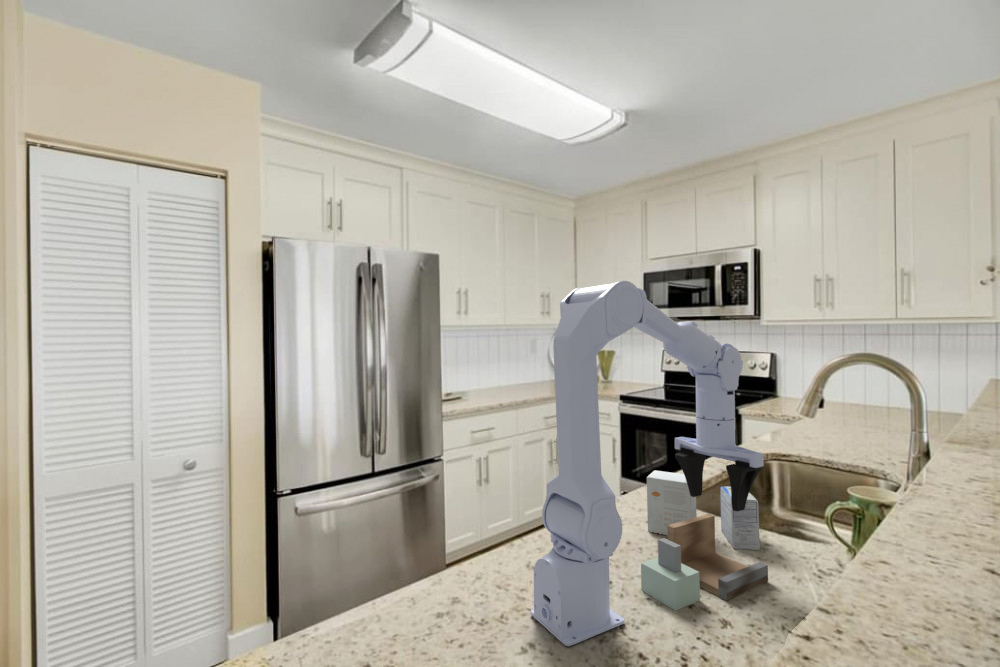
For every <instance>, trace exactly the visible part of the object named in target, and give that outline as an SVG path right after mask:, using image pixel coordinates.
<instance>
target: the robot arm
mask: <svg viewBox="0 0 1000 667" xmlns="http://www.w3.org/2000/svg"><path fill="white" fill-rule="evenodd" d="M647 298H648V296H647V294H646V290H644V289H642V288H639V287H637V286H636V285H635V284H634V283H633V282H630V281H628V280H620V281H616V282H614V283H608V284H600V285H596V286H594V285H593V286H588V287H581V286H580V287H576V288H575V289H573V290H571V292H569V293H568V294H567V295H566V296H565V297H564V298H562V300H561V301H560V303H559V309H560V314H559V315H560V319H559V322H558V325H557V329H556V331H555V334H554V338H553V344H552V346H553V347H552V348H553V366H554V367H553V368H554V373H553V374H554V388H555V389H554V390H555V391H554V395H555V414H556V416H555V417H556V418H555V419H556V437H557V438H556V440H557V461H558V474H557V475H556V476H554V477H553V478H552V479H551V480H549V481H548V482H547V483H546V496H545V501H544V503H543V506H542V511H541V519H542V524H543V526H544V527H545V529H546V530H547V531H548V532H549V533H550V542H551V543H552V548H551V550H550V551H549V552H548V553H547V554H546V555H544V556H543V557H540V558H539V559H537V561H536V562H535V564H534V568H533V609H531V610H530V615H531V616H532V617H533V618H534V619H535V620H536V621H537V622H539V623H540V624H541V625H542V626H543V627H544V628H545V629H546V630H547V631H549V632H550V633H551V634H552V636H554V637H555V638H556V639H557V640H558V641H559V642H561V643H562V644H563V645H564V646H566V647H571V646H573V645H576V644H578V643H581V642H584V641H585V640H588V639H590V638H593V637H595V636H597V635H599V634H602V633H605V632H606V631H611V629H615V628H617V627H619V626H621V625H624V624H625V621H626V620H625V618H624V617H623V616H621V615H620V614H618V613H616V612H615V610H612V609H611V607H610V557H613V556H614V552H615V551H616V549H617V548H618V546H619V544H620V542H621V539H622V534H623V521H622V518H621V516H620V513H619V512H618V509H617V505H616V501H617V500H616V495H615V493H614V491H613V490H612V489H611V487H610V486H609V484H608V483H607V481H606V480H605V479H604V477H603V475H602V458H601V457H602V456H601V434H600V432H601V430H600V413H599V411H600V410H599V409H600V408H599V407H600V406H599V386H598V364H597V363H598V360H597V355H598V354H599V353H600V351H602V349H603V348H604V347H605V346H607V344H609V342H611V341H612V340H614V339H616V338H618V337H619V336H621V335H623V334H625V333H626V332H628V331H630V330H632V329H633V328H634V329H637V330H639V331H640V332H643V333H644V334H647V335H648V336H650V337H652V338H655V339H656V340H659V341H660V342H662V346H663V349H664V351H665V353H666V354H667V355H669V356H670V357H672V358H674V359H676V360H677V361H679V362H681V363H682V364H684V365H685V366H686V368H687V370H688V372H689V375H690V376H692V377H694V378H695V429H696V430H695V432H696V433H695V436H696V438H692V437H687V436H686V437H685V436H679V437H674V449H675V450H679V452H676V453H675V454H674V455H675V456H674V458H675V460H676V461H677V463H678V465H679V467H680V468H681V471H682V472H683V473H682V474H684V475H685V478H686V481H687V485H688V488H689V492H690V496H692V497H696V498H697V497H699V496H702V495H703V480H704V478H703V472H704V467H705V461H706V458H707V456H709V457H712V458H713V457H714V458H718V459H720V460H726V461H730V462H734V463H731V464H727V465H725V468H726V472H727V476H728V479H729V483H730V484H729V485H730V487H731V502H732V509H733V510H734V511H737V512H738V511H741V510H744V509H745V505H746V501H747V497H748V494H749V493H750V491H751V488H752V486H753V484H754V482H755V480H756V478H757V476H758V475H759V473H760V472H761V471H762V467H764V466H765V464H764V453H762V452H759V451H756V450H751V449H748V448H744V447H742V446H738V445H736V400H735V399H736V396H735V394H736V392H735V391H737V390H738V387H739V380H740V378H739V377H740V375H741V373H742V371H743V365H744V361H743V360H742V356H741V352H740V351H739V349H738V348H737V347H735V346H734V345H732V344H730V343H720V342H719V341H718V340H716V338H715V336H714V335H711V334H708V333H706V332H704V331H703V330H701V329H699V328H698V323H696V322H695V321H693V320H692V321H691V320H690V321H680V322H676V321H675V320H674V319H672V318H671V317H669V316H668V315H667V314H666V313H664V311H662V310H661V309H659V308H658V306H656V305H654V303H652V302H651V301H649V299H647Z"/></svg>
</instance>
